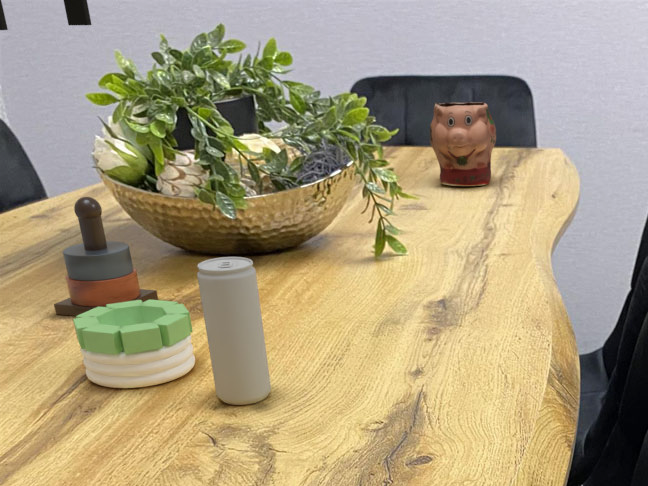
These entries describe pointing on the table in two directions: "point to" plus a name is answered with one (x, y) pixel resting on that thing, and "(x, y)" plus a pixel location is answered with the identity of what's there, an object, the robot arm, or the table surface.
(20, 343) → the table surface
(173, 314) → the green ring
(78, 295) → the stacking stand
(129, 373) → the coaster
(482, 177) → the decorative planter
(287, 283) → the table surface
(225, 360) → the beverage can
